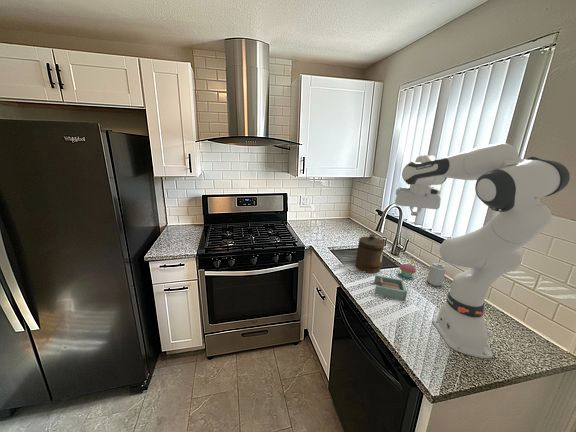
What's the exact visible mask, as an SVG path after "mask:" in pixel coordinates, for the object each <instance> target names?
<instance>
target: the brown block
mask: <svg viewBox="0 0 576 432" xmlns="http://www.w3.org/2000/svg"><path fill="white" fill-rule="evenodd" d="M377 285H378V286H383V287H388V288H393V289H398V290H400V288H399V284H394V283H389V282H383V280H382V278H380V281H378V284H377Z"/></svg>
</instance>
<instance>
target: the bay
mask: <svg viewBox="0 0 576 432" xmlns="http://www.w3.org/2000/svg"><path fill="white" fill-rule="evenodd" d="M380 278H382V280H383V282H389V283H394V284H399V289H400V290H398V289H393V288H388V287H383V286H378V281H380ZM376 283H377V284H376ZM374 284H376V285H375V291H374V295H376V294H378V295H377V296H381V295H382V296H381V297H387V298H391V299H392V298H393V299H397V300H401V301H406V300H407V295H408V291H407V288H406V285H405V281H404V279H401V278H396V277H390V276H386V275H385V276H384V275H378V274H374Z"/></svg>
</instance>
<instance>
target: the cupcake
mask: <svg viewBox="0 0 576 432" xmlns="http://www.w3.org/2000/svg"><path fill="white" fill-rule="evenodd" d="M414 258H415V257H413V258H412V260H411V261H410V263H402V264H401V265H399V270H401V276H403V278H407V279H409V278H411V277H412V276H413V274H416V271H417V269H416V267H415V266H413V262H414Z"/></svg>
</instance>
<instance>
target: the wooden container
mask: <svg viewBox="0 0 576 432" xmlns="http://www.w3.org/2000/svg"><path fill="white" fill-rule="evenodd" d="M384 248H385V241H384V240H383V239H381V238H378V237H376V235H375V234H369V236H361V237H359V240H358V246H357V251H356V258H355V267H356V269H358V270H359V271H361V272H363V271H365V272H364V273H367V274H376V273H379V272H380V271H381V267H382V260H383V254H384Z"/></svg>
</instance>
